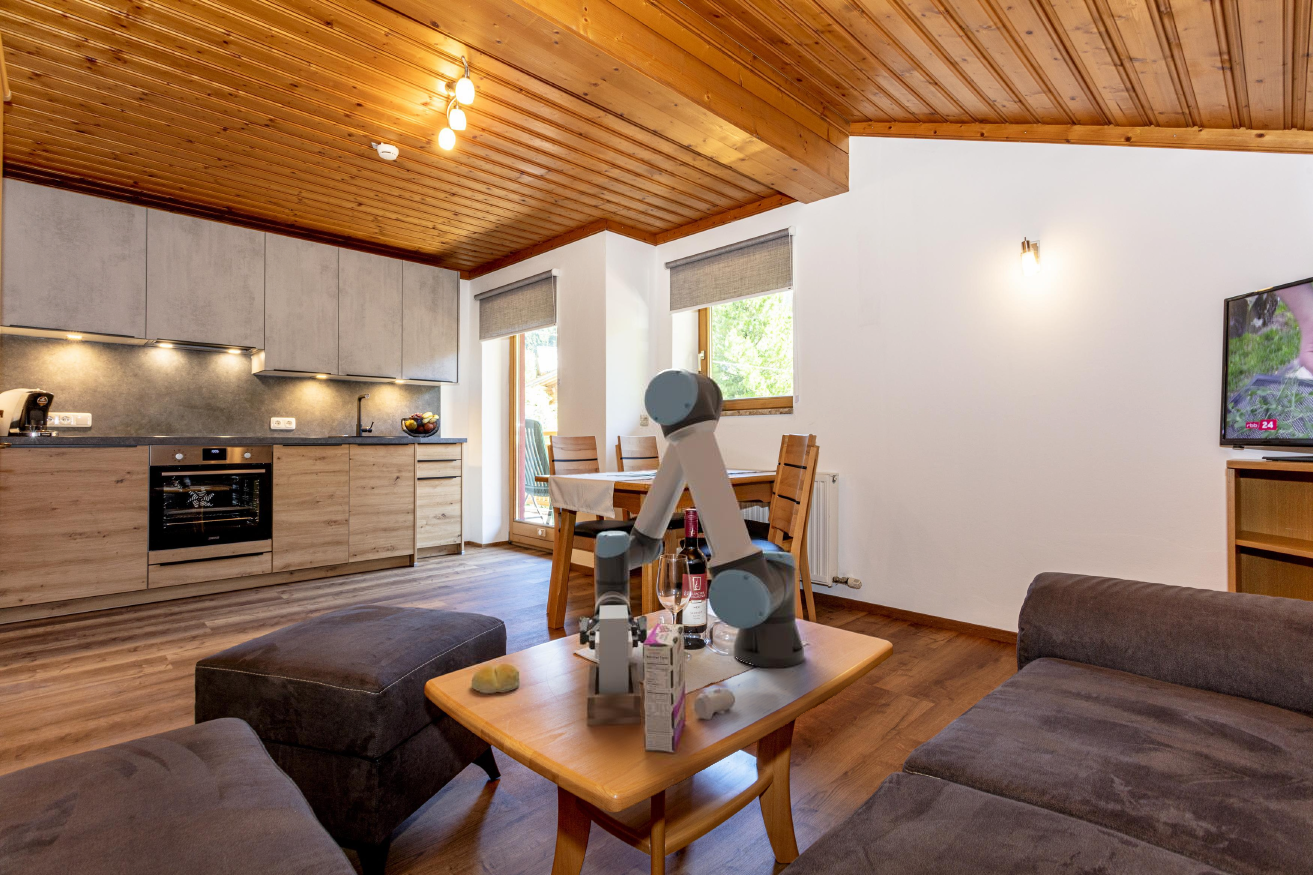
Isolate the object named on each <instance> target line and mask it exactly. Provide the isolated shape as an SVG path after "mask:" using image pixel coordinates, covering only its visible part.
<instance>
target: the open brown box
mask: <svg viewBox="0 0 1313 875" xmlns="http://www.w3.org/2000/svg"><path fill="white" fill-rule="evenodd" d="M588 673H589V674H588V684H587V697H586V698H587V701H586V702H587V703H586V705H587V709H586V710H587V711H586V712H587V713H586V714H587V716H586V725H587V726H600V725H625V724H627V725H629V724H631V725H632V724H642V692H641V685H640V678H639V670H638V663H637V662H631V663H630V662H628V694H600V695H599V664H598V663H597V664H596V663H595V664H593V663H592V664H589V672H588Z"/></svg>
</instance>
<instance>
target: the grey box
mask: <svg viewBox="0 0 1313 875" xmlns="http://www.w3.org/2000/svg"><path fill="white" fill-rule="evenodd" d="M598 659H599V660H598V663H599V695H600V694H628V663H629V658H628V610H627V605H606V606H600V614H599V658H598Z"/></svg>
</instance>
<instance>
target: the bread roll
mask: <svg viewBox="0 0 1313 875" xmlns="http://www.w3.org/2000/svg"><path fill="white" fill-rule="evenodd" d="M519 685H520V671H519V669H517V668H516V667H515V666H514V665H512V664H508V663H504V664H500V665H498V666H497V667H494V666H489V665H487V666H483V667H481V668H479V669H478V670H477V671H475V673H474V674H473V676H472V679H471V687H472V689H473V690H474V689H475V690H474V691H476V690H477V691H476V692H478V691H480V692H479V693H481V692H483V693H482V694H495V693H496V694H497V693H498V692H499V693H506V692H510V690H511V691H514V690H515V689H517V688H519Z"/></svg>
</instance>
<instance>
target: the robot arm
mask: <svg viewBox="0 0 1313 875" xmlns="http://www.w3.org/2000/svg"><path fill="white" fill-rule="evenodd" d="M643 401H644V408H645V410H646V412H647V415H648V416H649V417H650V419H651V420H653V421H654V422H655V423H657V424H658V425H659V426H660V429H661V432H662V435H663V438H664V439H665V441H666V442H667V443H668V445H667V447H666V449H665V452H664V455H663V457H662V458H661V462H660V464H659V466H658V468H657V470H656V473H655V476H654V477H653V479H652V482H651V485H650V487H649V489H648V491H647V494H646V496H645V499H644V500H643V503H642V506H641V508H640V511H639V513H638V515H637V517H636V520H635V522H634V524H633V527H632V529H631V531H630V534H629V533H627V531H621V530H607V531H601V532H599V533H597V534H596V542H595V548H594V549H595V550H594V552H595V607H594V616H593V617H592V618H591V619H590V618H589V617H585V616H580V617H579V619H578V620H579V621H578V622H579V624H578V625H579V626H578V627H579V628H578V630H579V644H580V645H581V646H582V645H583V646H585V645H587V643H588V649H589V650H592V651H593V650H594V658H595V659H599V614H600V606H606V605H627V610H628V659H629V658H633V656H634V654H633V648H634V649H635V648H638V647H639V643H640V644H643V643H644V642H645V640H646V639H647V638H648V626H647V625H648V623H647V622H648V620H647V619H648V618H647V616H646V615H640V617H639V616H638V617H636V618H635V617H634V616H633V615H632V611H631V604H630V571H631V570H633V569H637V568H639V567H643V566H647V565H650V564H652V563H653V562H655V561H657V560H658V559H660V557H661V556H662V554H663V550H664V548H663V547H664V546H663V545H664V544H663V541H662V539H663V537H664V535H665V533H666V530H667V528H668V526H669V523H670V521H671V519H672V518H673V514H674V512H675V510H676V508H677V505H678V503H679V501H680V499H681V497H682V494H683V493H684V490H685V487H686V485H687V486H688V490H689V492H690V496H691V499H692V501H693V505H694V507H695V509H696V510H697V511H696V510H695V511H696V514H697V517H698V520H699V522H700V524H701V528H702V531H703V535H704V537H705V541H706V544H707V546H708V550H709V554H710V560H708V564H707V570H708V573H709V577H710V579H711V582H710V586H709V589H708V601H709V605H710V608H711V610H712V612H713V613H714V615H715V616H716V618H718V620H719V621H721V622H722V623H724V624H726V625H727V626H729V627H732V628H734V629H738V631H737V632H736V633H737V634H736V636H735V640H734V643H733V656H734V655H735V656H734V658H735V657H737V658H738V659H739V660H742V661H744V662H747V663H751V664H753V665H752V666H754V665H756V666H755V667H760V668H771V669H772V668H774V669H775V668H789V667H794V666H796V665H799V664H801V663H803V661H804V659H805V647H804V645H803V641H802V638H801V635H800V632H799V629H798V626H797V622H796V621H797V620H796V571H797V566H796V558H795V557H794V555H793V554H792V553H791V552H785V551H775V550H763V549H762V547H760V546H758V545H756V544H754V542H752V539H751V537H750V535H749V530H748V528H747V525H746V522H745V520H744V517H743V514H742V511H741V508H740V505H739V502H738V499H737V496H736V493H735V490H734V488H733V485H732V482H731V479H730V475H729V474H728V470H727V468H726V465H725V462H724V459H723V457H722V456H723V455H722V454H721V451H720V447H719V445H718V442H717V439H716V436H715V432H716V429H717V426H718V424H719V421H720V418H721V415H722V412H723V407H724V396H723V392H722V390H721V387H720V386H719V384H718V383H717V382H716V381H715V380H714V379H713V378H712V377H710V376H708V375H705V374H702V373H696V372H690V371H689V370H687V369H684V368H683V369H682V368H669V369H668V368H667V369H664V370H662V371H660V372H658V373H657V374H656V375H654V377H653V378H651V380H650V382H649V383H648V385H647V387H646V390H645V393H644V400H643ZM591 627H592V628H591ZM590 628H591V630H590ZM738 659H737V660H738ZM739 660H738V661H739Z"/></svg>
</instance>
